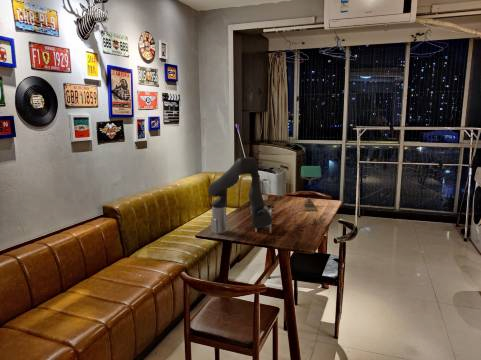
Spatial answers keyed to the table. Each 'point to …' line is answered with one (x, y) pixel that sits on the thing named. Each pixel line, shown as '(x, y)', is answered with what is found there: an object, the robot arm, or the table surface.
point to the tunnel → (270, 224)
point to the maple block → (265, 199)
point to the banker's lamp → (310, 173)
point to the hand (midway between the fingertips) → (263, 204)
